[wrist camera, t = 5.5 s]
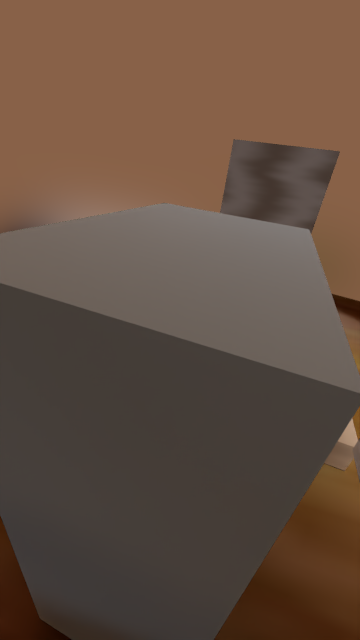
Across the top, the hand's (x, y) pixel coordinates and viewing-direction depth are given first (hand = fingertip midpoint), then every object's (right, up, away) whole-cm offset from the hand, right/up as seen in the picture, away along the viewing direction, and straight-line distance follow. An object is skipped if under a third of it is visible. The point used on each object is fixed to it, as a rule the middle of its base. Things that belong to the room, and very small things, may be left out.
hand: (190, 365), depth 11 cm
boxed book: (-2, -8, +1) cm, 8 cm away
